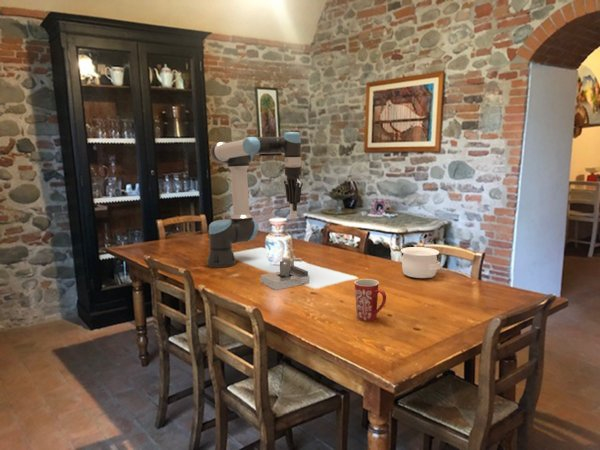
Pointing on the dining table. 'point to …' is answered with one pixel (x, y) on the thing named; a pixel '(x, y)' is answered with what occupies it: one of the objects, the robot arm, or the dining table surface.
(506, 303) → the dining table surface
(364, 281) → the mug
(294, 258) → the tan toy jack
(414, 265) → the pot
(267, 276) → the block
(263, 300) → the dining table surface
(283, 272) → the dark steel cylinder
